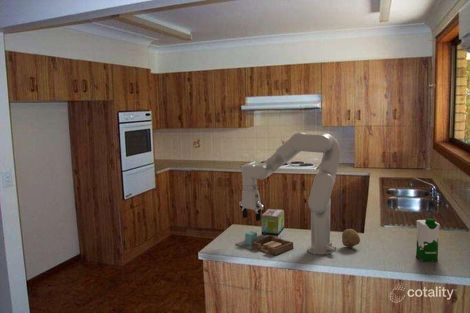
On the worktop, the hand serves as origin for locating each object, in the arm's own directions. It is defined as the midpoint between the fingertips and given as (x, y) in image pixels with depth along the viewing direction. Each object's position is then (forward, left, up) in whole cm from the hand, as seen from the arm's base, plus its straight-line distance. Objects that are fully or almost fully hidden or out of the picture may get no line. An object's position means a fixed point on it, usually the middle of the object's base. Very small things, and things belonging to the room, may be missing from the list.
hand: (251, 219), depth 218 cm
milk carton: (-75, -42, -14) cm, 87 cm away
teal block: (0, 0, -14) cm, 14 cm away
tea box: (0, -17, -15) cm, 22 cm away
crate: (-12, -3, -14) cm, 19 cm away
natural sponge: (-41, -31, -14) cm, 53 cm away
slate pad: (+1, 0, -14) cm, 14 cm away
